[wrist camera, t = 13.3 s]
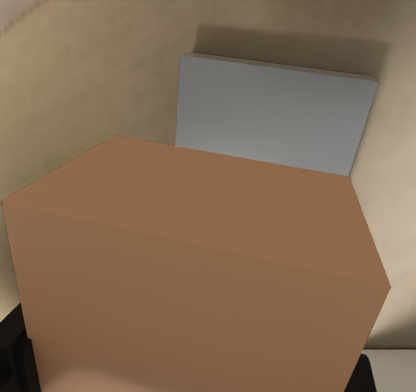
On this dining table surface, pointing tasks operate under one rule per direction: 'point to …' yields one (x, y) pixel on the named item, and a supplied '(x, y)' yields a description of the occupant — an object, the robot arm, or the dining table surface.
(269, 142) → the gray cradle tray
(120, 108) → the dining table surface
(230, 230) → the block
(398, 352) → the milk carton
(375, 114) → the dining table surface
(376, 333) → the dining table surface
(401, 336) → the dining table surface
